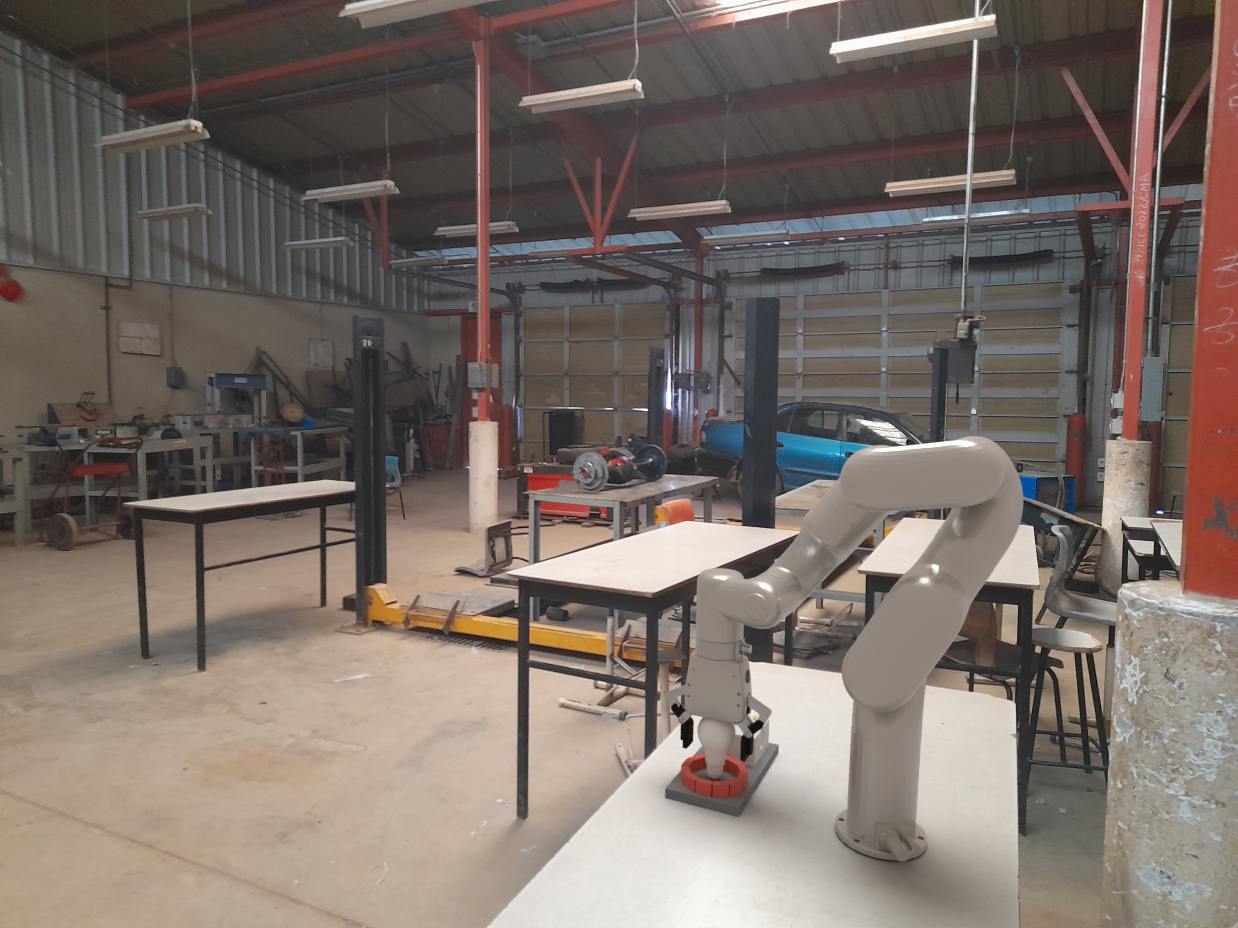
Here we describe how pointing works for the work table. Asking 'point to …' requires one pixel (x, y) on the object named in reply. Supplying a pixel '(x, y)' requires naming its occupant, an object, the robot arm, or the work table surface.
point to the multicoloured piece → (725, 775)
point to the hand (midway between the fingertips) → (716, 751)
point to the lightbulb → (715, 743)
